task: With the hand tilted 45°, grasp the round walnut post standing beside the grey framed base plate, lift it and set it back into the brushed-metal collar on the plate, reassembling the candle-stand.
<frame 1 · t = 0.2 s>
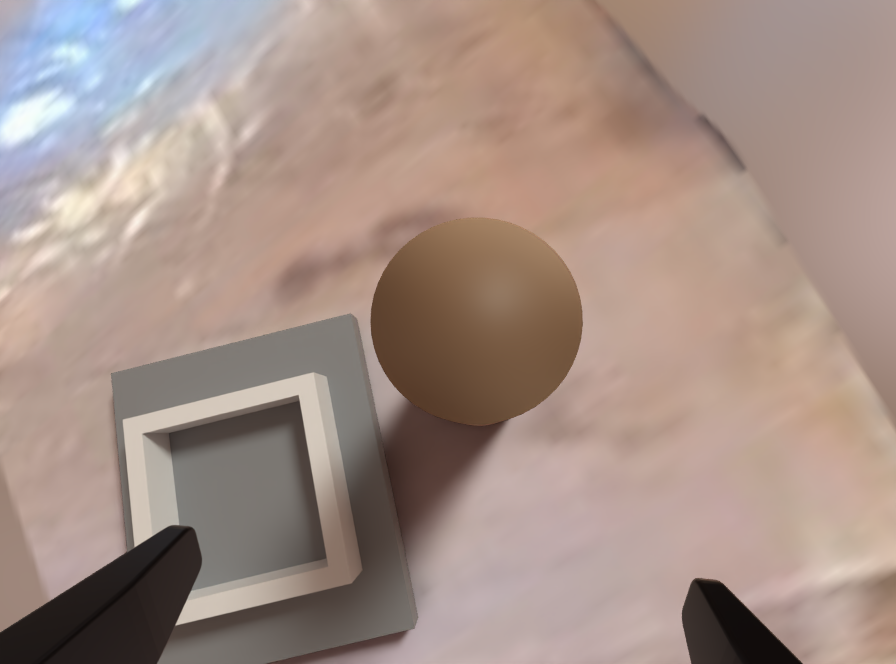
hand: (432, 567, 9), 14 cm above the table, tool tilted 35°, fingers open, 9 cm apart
grey framed base plate: (263, 488, 23), on the table
walnut post: (478, 377, 23), on the table
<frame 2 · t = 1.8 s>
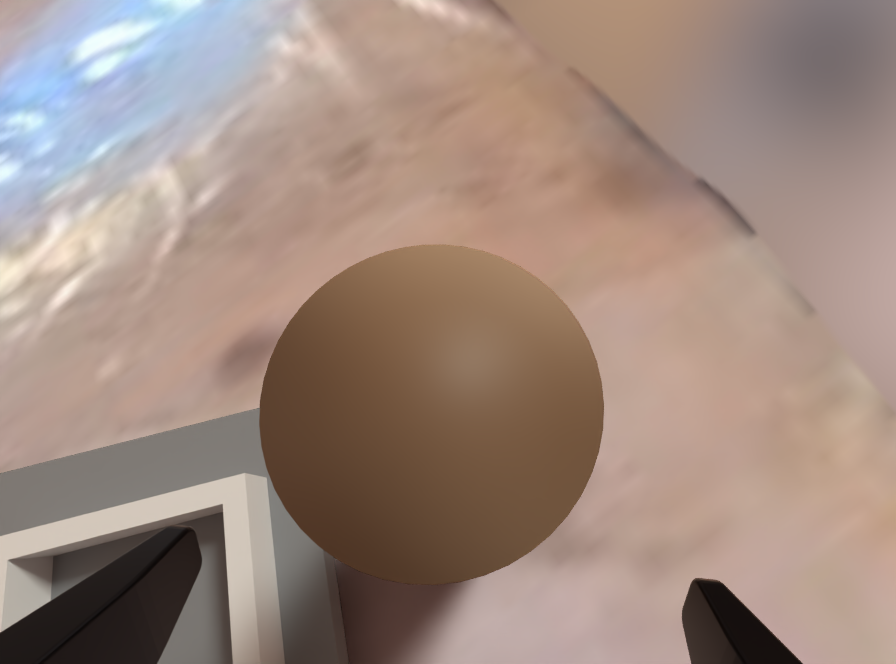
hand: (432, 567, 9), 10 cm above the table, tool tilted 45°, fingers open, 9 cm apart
grey framed base plate: (173, 633, 17), on the table
walnut post: (459, 477, 18), on the table
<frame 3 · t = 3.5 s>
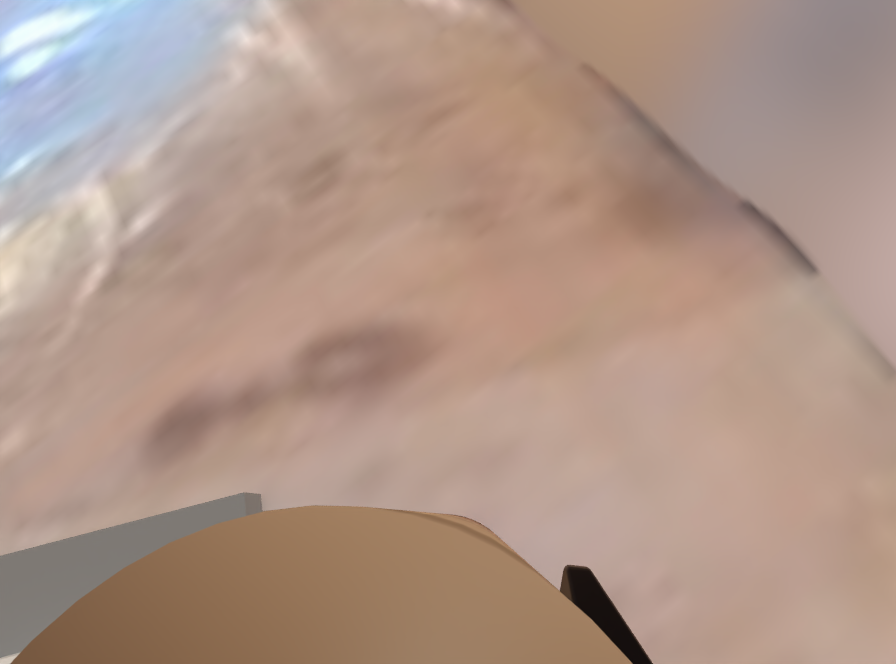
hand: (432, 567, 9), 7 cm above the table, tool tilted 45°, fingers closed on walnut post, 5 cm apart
walnut post: (446, 597, 14), on the table, touching gripper
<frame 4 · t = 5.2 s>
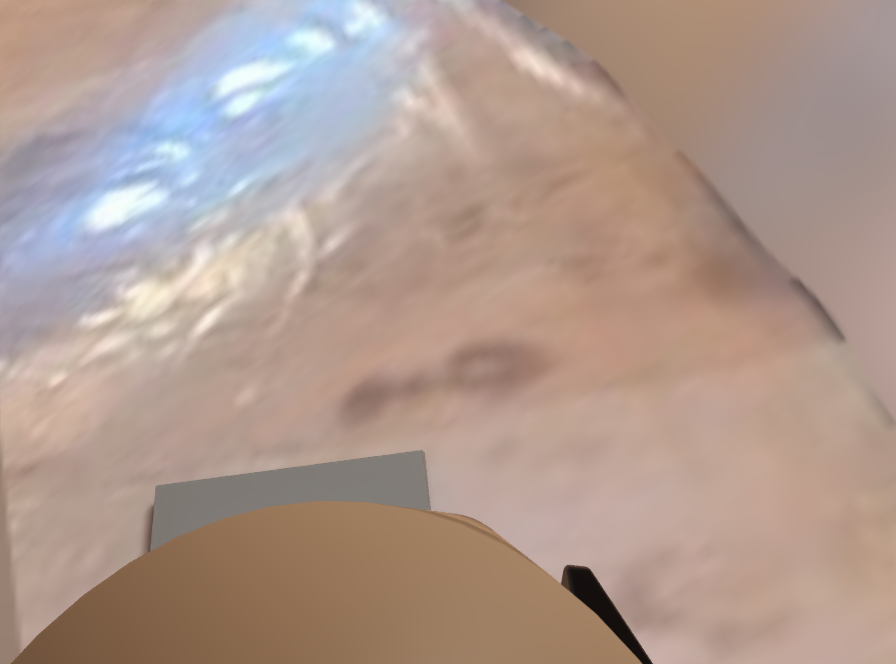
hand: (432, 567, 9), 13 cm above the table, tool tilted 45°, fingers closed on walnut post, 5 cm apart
grey framed base plate: (299, 642, 20), on the table
walnut post: (447, 596, 14), point 7 cm above the table, touching gripper
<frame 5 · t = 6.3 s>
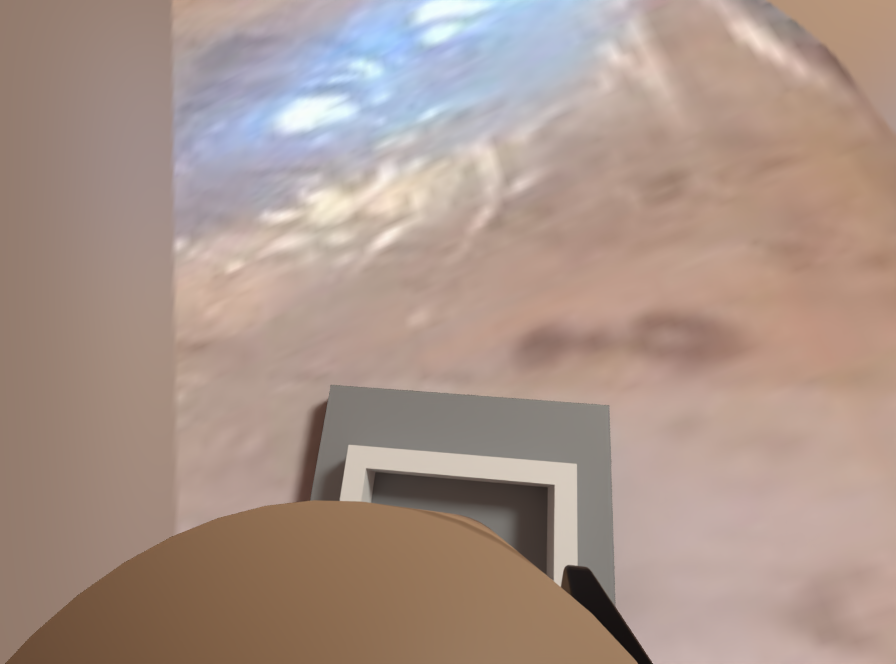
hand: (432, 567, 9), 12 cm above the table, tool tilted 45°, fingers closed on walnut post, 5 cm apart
grey framed base plate: (454, 572, 19), on the table
walnut post: (446, 596, 14), point 5 cm above the table, touching gripper
when the fingers open (9 cm above the table, at t = 7.2 s): walnut post drops 1 cm, resting on grey framed base plate.
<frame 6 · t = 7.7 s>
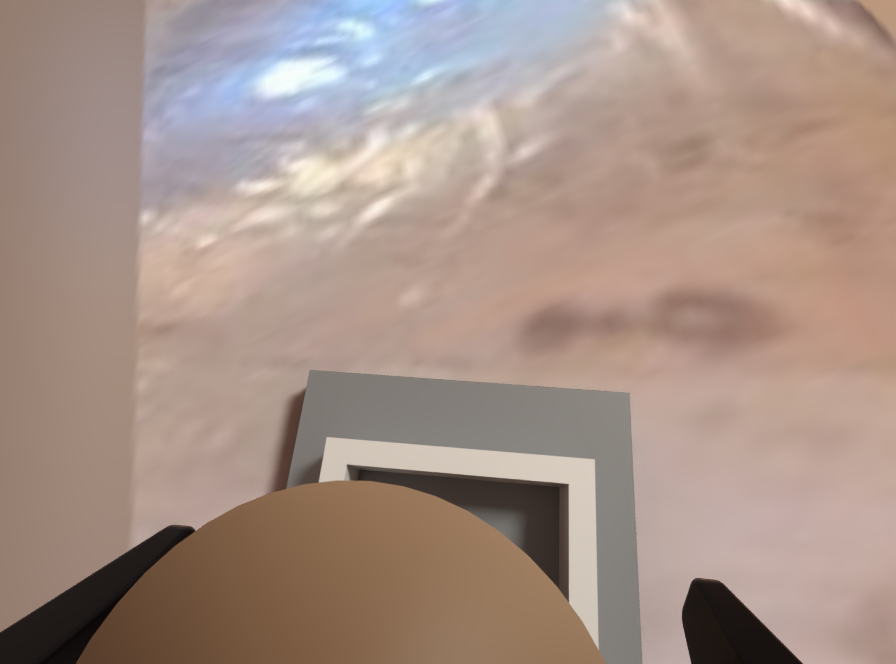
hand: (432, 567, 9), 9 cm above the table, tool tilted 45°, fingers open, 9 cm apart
grey framed base plate: (450, 585, 17), on the table
walnut post: (448, 593, 15), point 1 cm above the table, touching grey framed base plate
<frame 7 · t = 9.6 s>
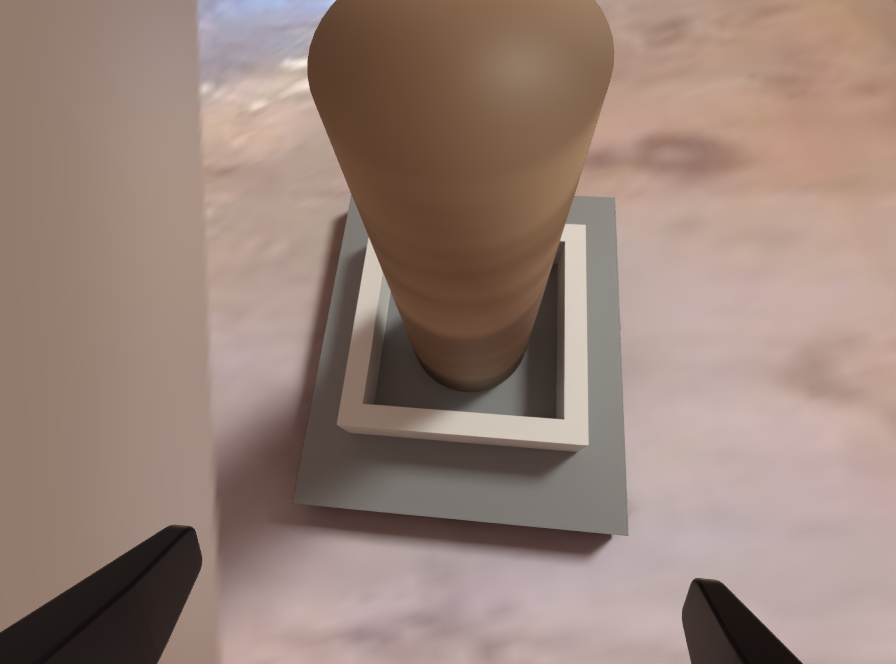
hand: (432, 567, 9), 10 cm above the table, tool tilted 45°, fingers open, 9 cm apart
grey framed base plate: (470, 344, 21), on the table
walnut post: (469, 336, 19), point 1 cm above the table, touching grey framed base plate
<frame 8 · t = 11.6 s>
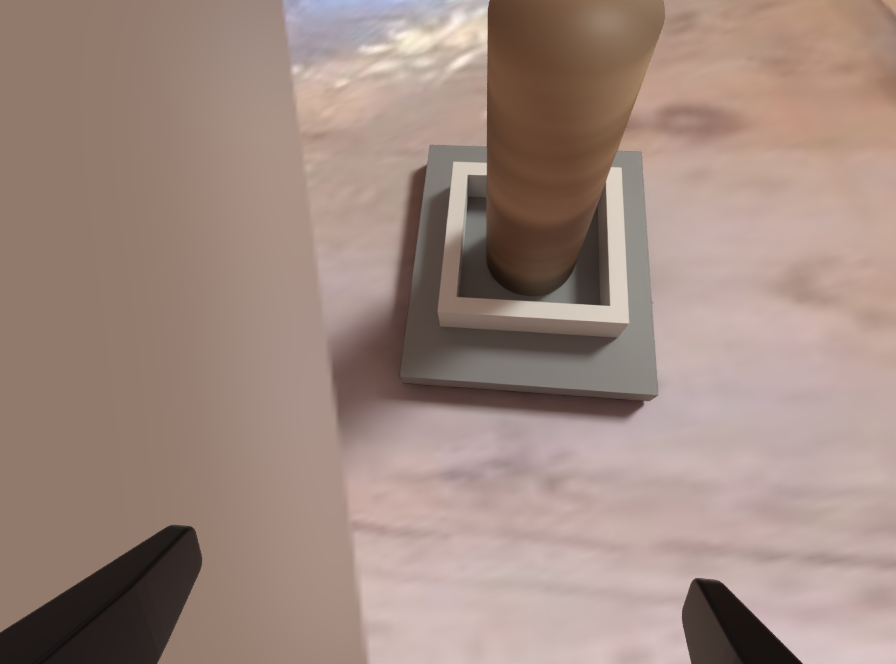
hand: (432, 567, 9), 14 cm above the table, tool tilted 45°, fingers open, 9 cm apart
grey framed base plate: (527, 266, 26), on the table
walnut post: (530, 255, 25), point 1 cm above the table, touching grey framed base plate
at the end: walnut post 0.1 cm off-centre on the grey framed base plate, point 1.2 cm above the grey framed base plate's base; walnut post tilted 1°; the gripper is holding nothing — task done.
